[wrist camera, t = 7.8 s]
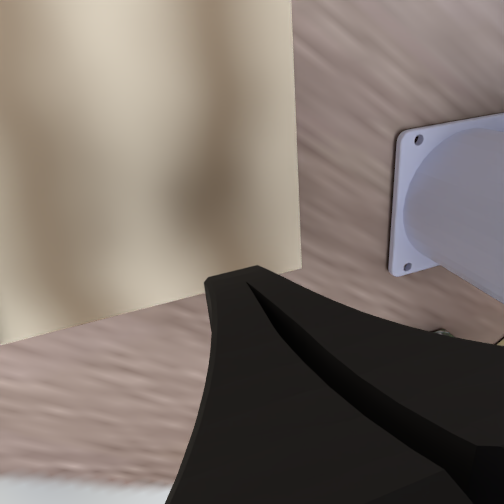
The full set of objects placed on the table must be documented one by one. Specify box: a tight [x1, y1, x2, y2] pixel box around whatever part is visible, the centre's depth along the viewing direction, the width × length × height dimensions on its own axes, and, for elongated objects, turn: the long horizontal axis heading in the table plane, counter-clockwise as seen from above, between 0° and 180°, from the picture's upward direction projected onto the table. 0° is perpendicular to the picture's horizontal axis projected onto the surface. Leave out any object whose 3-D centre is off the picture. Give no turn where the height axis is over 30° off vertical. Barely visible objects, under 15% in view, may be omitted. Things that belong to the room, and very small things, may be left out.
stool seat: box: [0, 0, 302, 345], centre depth 14 cm, size 18×14×5 cm
